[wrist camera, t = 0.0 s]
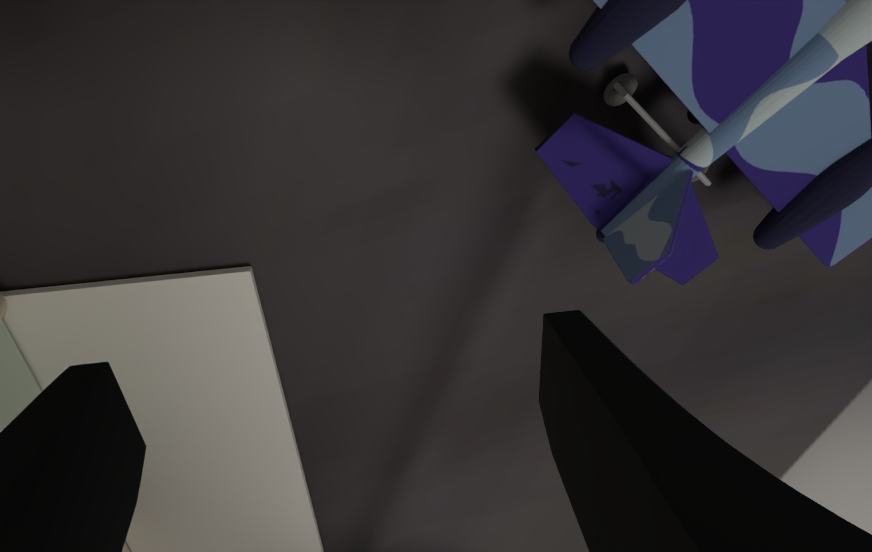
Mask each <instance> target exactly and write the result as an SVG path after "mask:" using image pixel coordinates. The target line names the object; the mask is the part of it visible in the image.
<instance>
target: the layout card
mask: <svg viewBox="0 0 872 552" xmlns="http://www.w3.org/2000/svg"><path fill="white" fill-rule="evenodd" d="M0 293H1V294H2V296H3V297H4V299H5V301H6V304H7V312H6V314H5V316H4V317H3V319H2V320H3V322H4V324H5V326H6V328H7V330H8V331H9V333H10V335H11V337H12V339H13V341H14V342H15V344H16V346H17V348H18V350H19V352H20V353H21V355H22V357H23V359H24V361H25V362H26V364H27V366H28V368H29V370H30V372H31V373H32V375H33V377H34V379H35V381H36V383H37V384H38V386H39V388H40V390H41V392H42V391H43V390H44V389H45V388H46V387H47V386H48V385H50V384H51V383H52V382H53V381H54V380H55V379H56V378H57V377H58V376H59V375H60V374H61V373H62V372H64V371H65V370H66V369H67V368H68V367H69V366H72V365H81V364H90V363H99V362H109V364H110V366H111V369H112V371H113V373H114V375H115V377H116V380H117V382H118V384H119V386H120V389H121V391H122V393H123V395H124V397H125V400H126V402H127V404H128V406H129V409H130V411H131V413H132V415H133V417H134V420H135V422H136V424H137V426H138V429H139V431H140V433H141V435H142V437H143V440H144V442H145V444H146V452H145V459H144V465H143V471H142V478H141V483H140V488H139V493H138V499H137V504H136V507H135V511H134V514H133V517H132V521H131V524H130V527H129V530H128V534H127V537H126V540H125V543H126V545H127V547H128V549H129V551H130V552H324V550H323V546H322V542H321V538H320V534H319V530H318V526H317V522H316V518H315V514H314V510H313V507H312V503H311V499H310V495H309V491H308V487H307V483H306V479H305V475H304V471H303V467H302V463H301V459H300V455H299V451H298V448H297V444H296V440H295V436H294V432H293V428H292V424H291V420H290V416H289V412H288V408H287V404H286V400H285V396H284V393H283V389H282V385H281V381H280V377H279V373H278V369H277V365H276V361H275V357H274V353H273V349H272V345H271V341H270V338H269V334H268V330H267V326H266V322H265V318H264V314H263V310H262V306H261V302H260V298H259V294H258V290H257V286H256V283H255V279H254V275H253V271H252V267H251V266H247V267H237V268H227V269H217V270H207V271H198V272H188V273H178V274H168V275H158V276H149V277H139V278H129V279H119V280H109V281H100V282H90V283H80V284H70V285H60V286H51V287H41V288H31V289H21V290H11V291H2V292H0Z"/></svg>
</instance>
